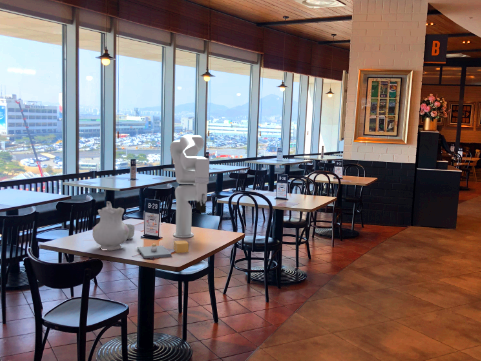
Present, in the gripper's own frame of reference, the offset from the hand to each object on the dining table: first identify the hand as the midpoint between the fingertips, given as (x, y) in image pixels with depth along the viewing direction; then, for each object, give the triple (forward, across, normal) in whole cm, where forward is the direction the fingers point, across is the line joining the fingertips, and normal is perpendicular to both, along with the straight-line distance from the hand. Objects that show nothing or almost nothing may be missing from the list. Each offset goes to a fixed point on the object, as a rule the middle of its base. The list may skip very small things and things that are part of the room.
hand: (201, 211), depth 259 cm
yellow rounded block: (+22, +1, -11) cm, 24 cm away
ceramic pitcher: (+22, -13, -48) cm, 55 cm away
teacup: (+22, -31, -41) cm, 56 cm away
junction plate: (+22, +3, -26) cm, 34 cm away
